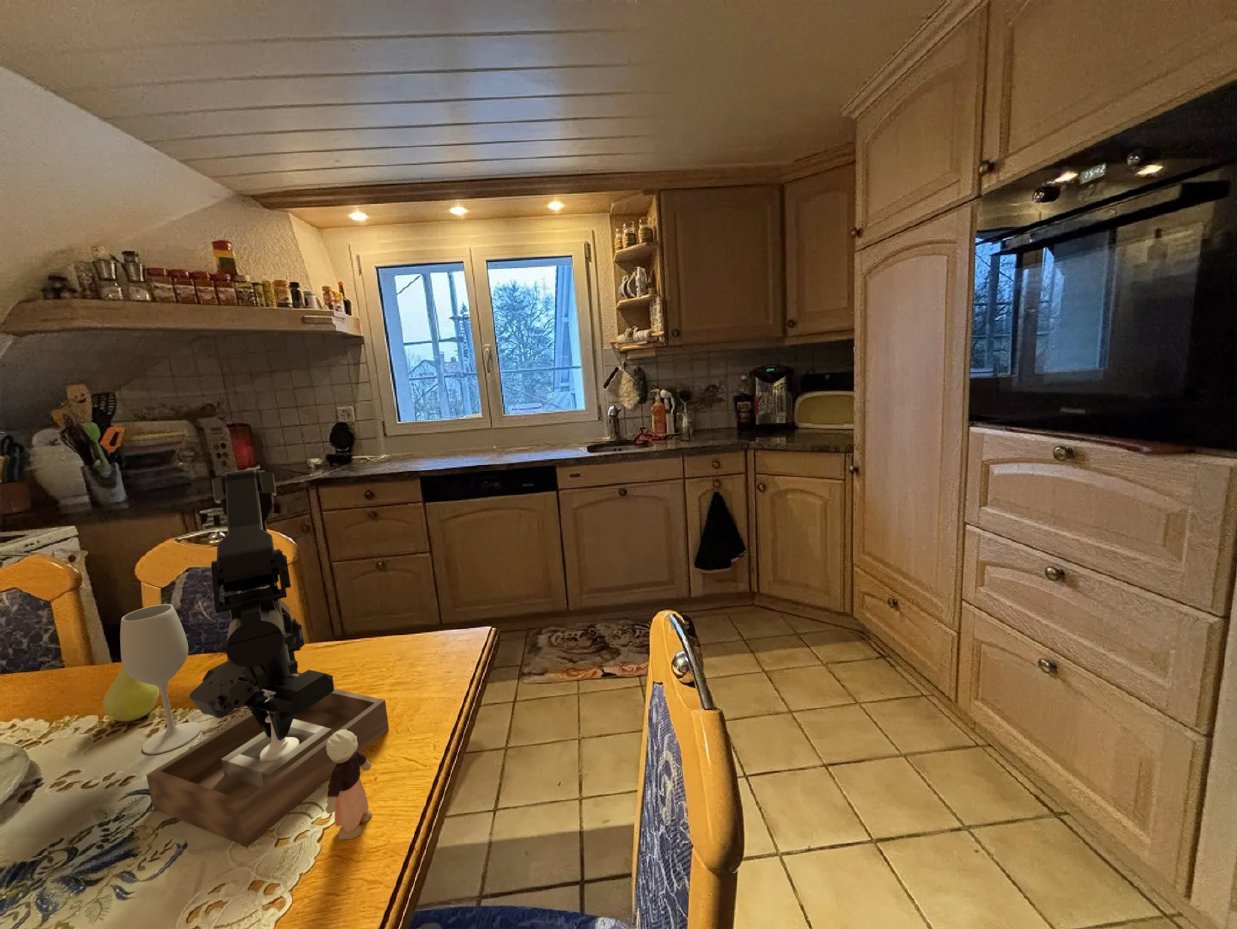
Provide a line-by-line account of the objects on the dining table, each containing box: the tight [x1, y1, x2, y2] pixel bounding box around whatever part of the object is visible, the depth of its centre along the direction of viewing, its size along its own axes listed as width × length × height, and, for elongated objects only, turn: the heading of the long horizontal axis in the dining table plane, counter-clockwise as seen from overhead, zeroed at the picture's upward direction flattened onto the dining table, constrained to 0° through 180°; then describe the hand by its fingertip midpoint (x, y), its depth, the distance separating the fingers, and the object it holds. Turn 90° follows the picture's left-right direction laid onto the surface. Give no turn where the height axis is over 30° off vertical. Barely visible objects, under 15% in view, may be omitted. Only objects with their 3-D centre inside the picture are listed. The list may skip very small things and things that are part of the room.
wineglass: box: [119, 603, 203, 755], centre depth 81 cm, size 8×8×21 cm
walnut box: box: [146, 688, 390, 848], centre depth 75 cm, size 18×22×5 cm
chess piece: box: [260, 692, 300, 764], centre depth 74 cm, size 5×5×10 cm
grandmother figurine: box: [325, 729, 373, 841], centre depth 63 cm, size 8×4×13 cm, turn 5°
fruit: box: [102, 666, 160, 722], centre depth 88 cm, size 7×8×12 cm
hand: (277, 737), depth 74 cm, fingers closed on chess piece
